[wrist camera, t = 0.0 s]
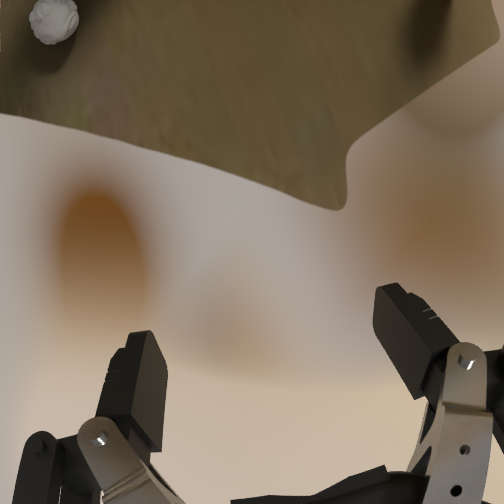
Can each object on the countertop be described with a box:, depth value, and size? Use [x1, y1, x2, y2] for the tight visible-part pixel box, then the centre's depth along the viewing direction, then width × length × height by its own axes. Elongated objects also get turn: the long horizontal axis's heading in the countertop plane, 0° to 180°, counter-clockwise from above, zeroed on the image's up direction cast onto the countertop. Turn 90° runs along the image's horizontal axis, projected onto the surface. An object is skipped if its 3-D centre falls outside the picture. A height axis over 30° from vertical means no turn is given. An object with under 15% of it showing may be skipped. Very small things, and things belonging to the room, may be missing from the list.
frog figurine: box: [29, 0, 79, 45], centre depth 22 cm, size 6×7×7 cm
